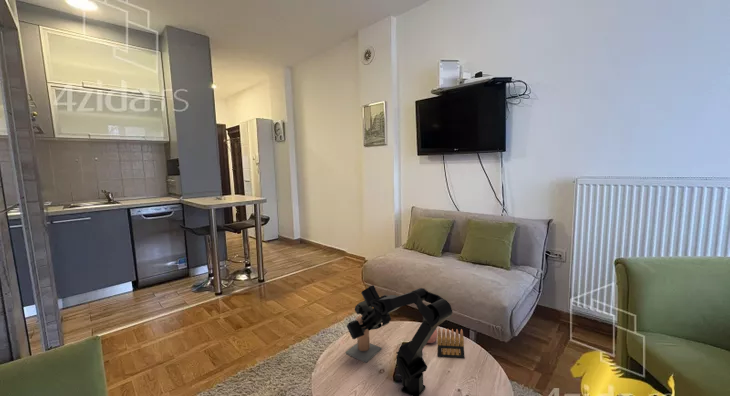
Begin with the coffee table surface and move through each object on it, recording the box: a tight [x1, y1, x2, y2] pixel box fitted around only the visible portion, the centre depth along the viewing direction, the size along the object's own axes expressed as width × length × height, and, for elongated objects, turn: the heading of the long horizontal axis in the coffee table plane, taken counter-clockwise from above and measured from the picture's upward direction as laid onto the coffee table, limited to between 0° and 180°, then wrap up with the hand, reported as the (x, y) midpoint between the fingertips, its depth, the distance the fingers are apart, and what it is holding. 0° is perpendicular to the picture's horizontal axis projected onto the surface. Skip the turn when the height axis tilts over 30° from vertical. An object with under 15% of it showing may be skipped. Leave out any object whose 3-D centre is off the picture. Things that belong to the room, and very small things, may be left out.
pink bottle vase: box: [426, 328, 438, 344], centre depth 134 cm, size 8×8×12 cm
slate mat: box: [345, 342, 382, 364], centre depth 129 cm, size 11×11×1 cm
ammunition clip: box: [436, 327, 466, 360], centre depth 123 cm, size 11×2×12 cm, turn 81°
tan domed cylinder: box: [355, 314, 371, 351], centre depth 128 cm, size 5×5×13 cm
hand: (361, 331), depth 129 cm, fingers closed on tan domed cylinder, 5 cm apart
